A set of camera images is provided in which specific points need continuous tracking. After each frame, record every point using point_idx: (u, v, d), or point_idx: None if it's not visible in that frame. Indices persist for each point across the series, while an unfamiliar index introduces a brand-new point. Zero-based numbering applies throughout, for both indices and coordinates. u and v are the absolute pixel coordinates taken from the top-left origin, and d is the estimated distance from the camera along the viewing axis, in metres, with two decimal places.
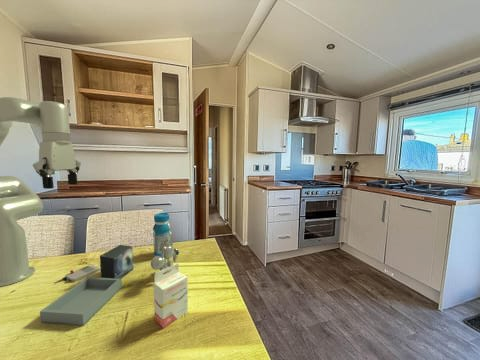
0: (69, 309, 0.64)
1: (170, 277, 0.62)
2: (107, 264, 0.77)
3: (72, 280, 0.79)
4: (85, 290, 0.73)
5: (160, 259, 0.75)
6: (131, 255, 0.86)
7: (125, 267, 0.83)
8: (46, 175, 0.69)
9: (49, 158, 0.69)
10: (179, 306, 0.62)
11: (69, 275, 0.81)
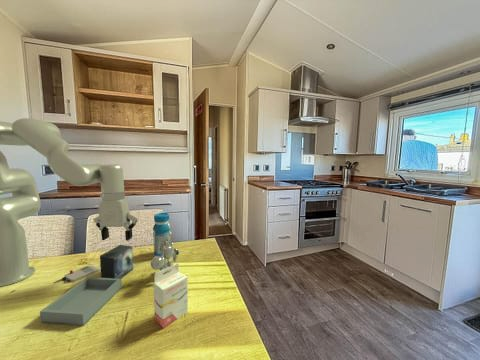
0: (69, 309, 0.64)
1: (170, 277, 0.62)
2: (107, 264, 0.77)
3: (71, 280, 0.78)
4: (85, 290, 0.73)
5: (160, 259, 0.75)
6: (131, 255, 0.86)
7: (125, 267, 0.83)
8: (132, 227, 0.82)
9: (129, 213, 0.81)
10: (179, 306, 0.62)
11: (68, 275, 0.81)
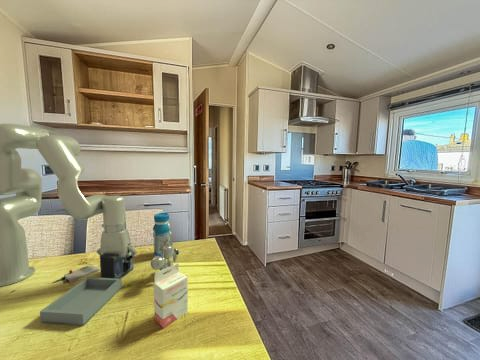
0: (69, 309, 0.64)
1: (170, 277, 0.62)
2: (107, 264, 0.77)
3: (70, 280, 0.78)
4: (85, 290, 0.73)
5: (160, 259, 0.75)
6: None
7: None
8: (130, 258, 0.83)
9: (130, 243, 0.83)
10: (179, 306, 0.62)
11: (68, 275, 0.81)
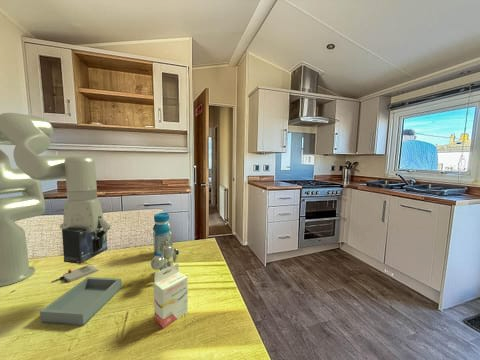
0: (69, 309, 0.64)
1: (170, 277, 0.62)
2: (70, 240, 0.62)
3: (68, 280, 0.79)
4: (85, 290, 0.73)
5: (160, 259, 0.75)
6: None
7: None
8: (103, 235, 0.68)
9: (102, 216, 0.67)
10: (179, 306, 0.62)
11: (66, 275, 0.81)
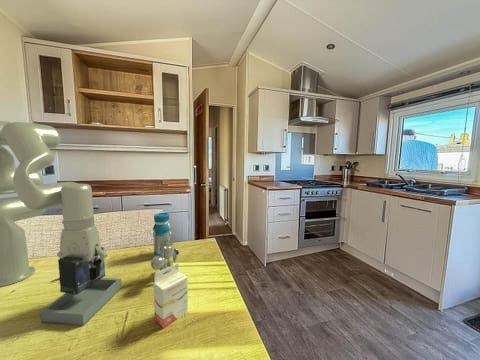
0: (69, 309, 0.64)
1: (170, 277, 0.62)
2: (67, 270, 0.61)
3: None
4: (85, 290, 0.73)
5: (160, 259, 0.75)
6: None
7: None
8: None
9: (99, 243, 0.66)
10: (179, 306, 0.62)
11: None
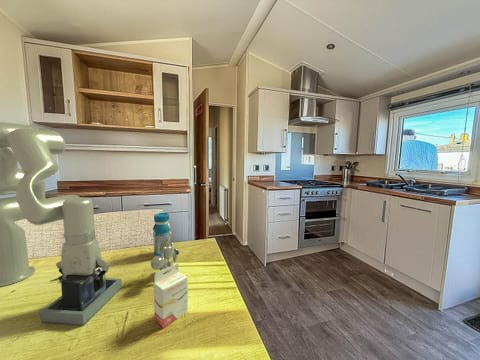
0: None
1: (170, 277, 0.62)
2: (70, 291, 0.61)
3: None
4: None
5: (160, 259, 0.75)
6: (103, 276, 0.70)
7: None
8: (104, 273, 0.67)
9: (100, 256, 0.67)
10: (179, 306, 0.62)
11: None
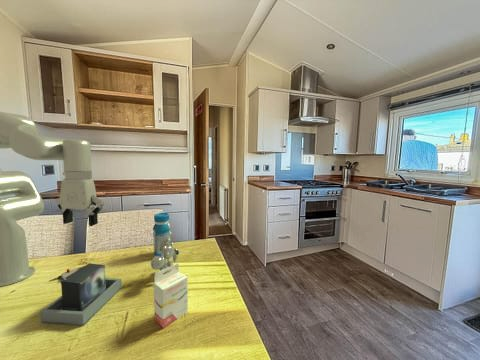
0: None
1: (170, 277, 0.62)
2: (70, 291, 0.61)
3: None
4: None
5: (160, 259, 0.75)
6: (103, 276, 0.70)
7: (96, 291, 0.67)
8: (98, 211, 0.73)
9: (95, 195, 0.73)
10: (179, 306, 0.62)
11: (64, 274, 0.82)
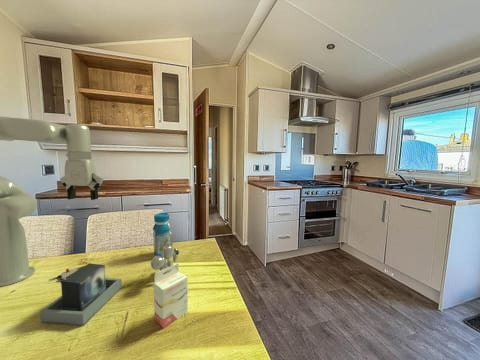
0: None
1: (170, 277, 0.62)
2: (70, 291, 0.61)
3: None
4: None
5: (160, 259, 0.75)
6: (103, 276, 0.70)
7: (96, 291, 0.67)
8: (98, 187, 0.84)
9: (95, 174, 0.84)
10: (179, 306, 0.62)
11: (64, 274, 0.82)
